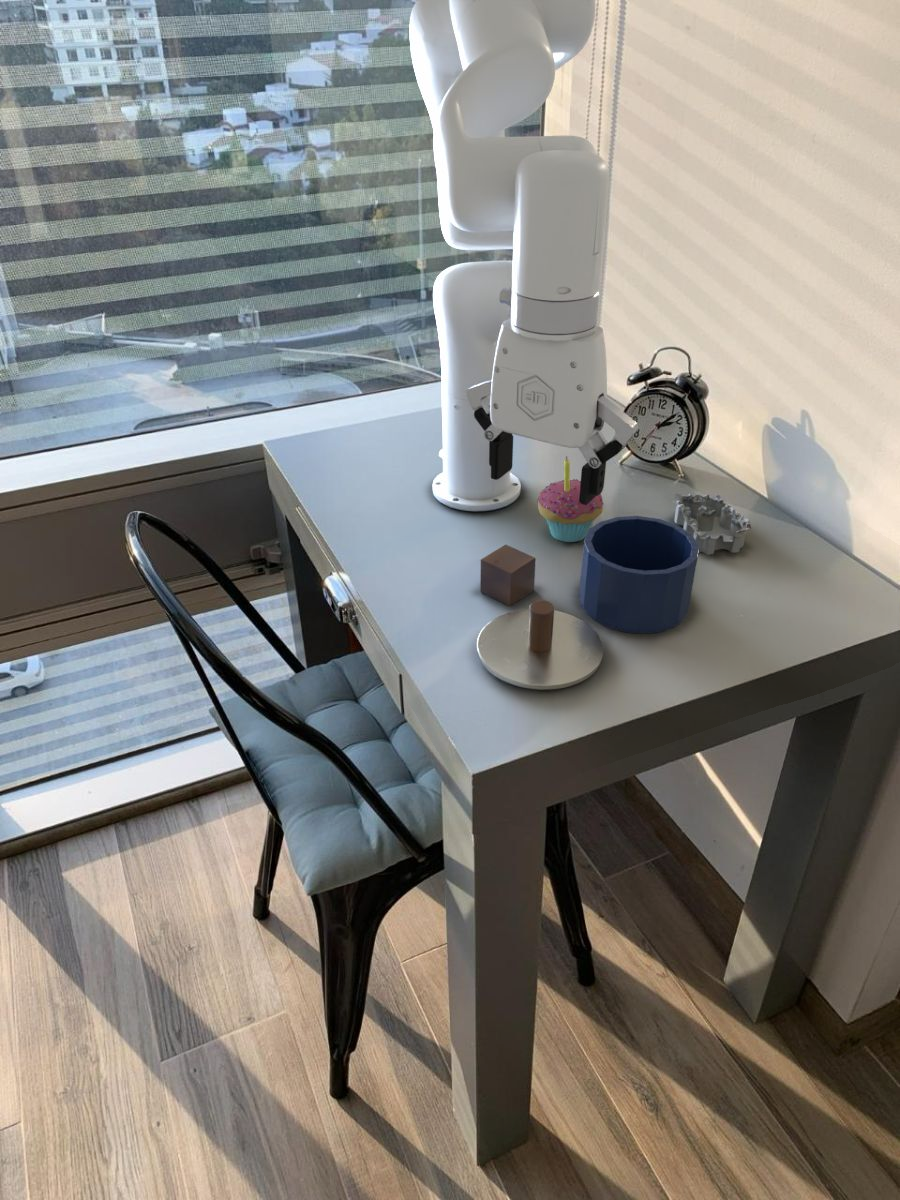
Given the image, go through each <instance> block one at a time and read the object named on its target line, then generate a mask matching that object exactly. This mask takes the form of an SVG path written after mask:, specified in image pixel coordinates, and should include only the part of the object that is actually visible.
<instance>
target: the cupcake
mask: <svg viewBox="0 0 900 1200" xmlns="http://www.w3.org/2000/svg"><path fill="white" fill-rule="evenodd" d="M570 465H571V464H570V460H569V459H568V455H565V460H564V461H563V466H564V468H563V473H564V475H563V477H564V479H562V480H559V481H555V482H553V483H552V482H551V483H549V485H547V486H545V488H544V489H542V490H541V491H540V492H539V496H538V499H537V500H538V501H537V506H538V507H537V508H538V511H539V513H540V515H541V516H542V517H543V518H545V520H546V522H547V526H548V530H549V533H550V535H551V537H553V538H554V539H556V540H557V541H560V542H565V543H576V542H580V541H582V540H583V539H585V537H586V534H587V532H588V530H589V529H591V526H592V524H593V522H595V520H597V519H598V518H599V517H600V516H601V515H602V514H603V512H604V501H603V500H604V499H603V496H602V493H600V494H599V495H598V496H596V497H595V498H594V499H593V500H592V501H590V502H589V503H588V504H587V505H583V504H581V503H580V502H579V496H580V484H581V480H579V479H577V478H576V479H575V478H573V479H570V478H571V477H570V476H571V475H570V474H571V473H570V470H571V467H570Z"/></svg>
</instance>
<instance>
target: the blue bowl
mask: <svg viewBox="0 0 900 1200" xmlns="http://www.w3.org/2000/svg"><path fill="white" fill-rule="evenodd" d="M699 553H700V551H699V545H698V544H697V542H696V540H695V539H694V537H693V536H692V535H691V534H690V533H688V532H687V531H685V530H684V529H683V528H682V527H681V525H679V524H676V523H672V522H670V521H667V520H664V519H661V518H656V517H648V516H642V515H623V516H616V517H612V518H609V519H604V520H602V521H599V522H598V523H597V524H595V525H593V526H592V527H590V528H589V530H588V532H587V534H586V536H585V538H584V540H583V548H582V559H581V570H580V571H581V572H580V582H579V595H578V596H579V601H580V605H581V607H582V610H583V611H584V612H585V613H586V614H587V616H589V618H591V619H592V620H594V621H595V622H597V623H598V624H600V625H602V626H604V627H607V628H609V629H612V630H615V631H618V632H623V633H628V634H629V633H630V634H638V635H639V634H640V635H641V634H643V635H644V634H656V633H661V632H664V631H668V630H670V629H673V628H674V627H676V626H678V625H680V624H681V623H682V622H683V621H684V620H685V619H686V618H687V615H688V613H689V609H690V603H691V597H692V592H693V585H694V581H695V574H696V570H697V565H698V564H697V563H698V557H699Z"/></svg>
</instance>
